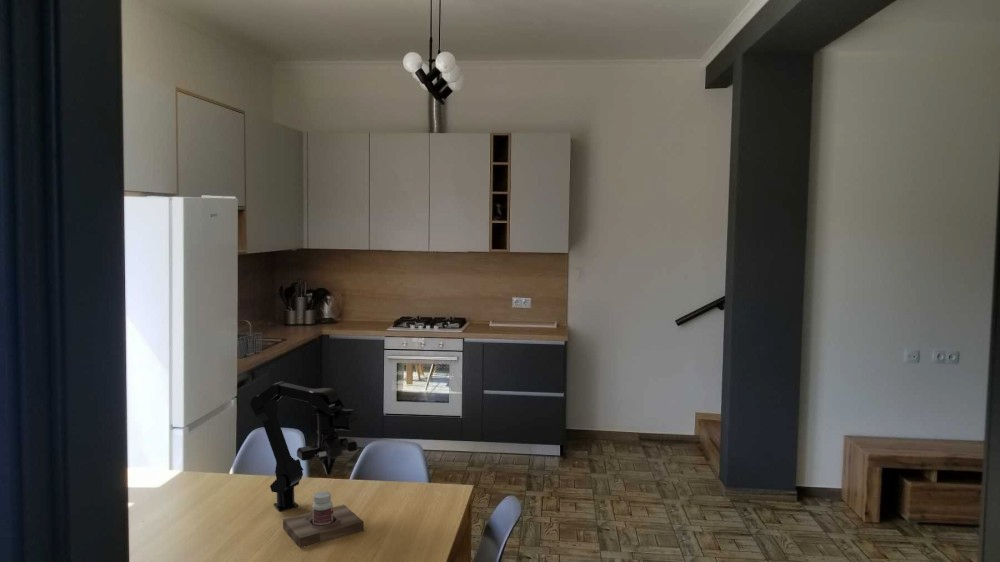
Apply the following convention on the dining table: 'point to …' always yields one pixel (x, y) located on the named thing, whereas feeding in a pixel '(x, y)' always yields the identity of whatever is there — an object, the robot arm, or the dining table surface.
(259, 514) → the dining table surface
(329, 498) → the pill bottle
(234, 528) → the dining table surface
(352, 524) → the socket board
